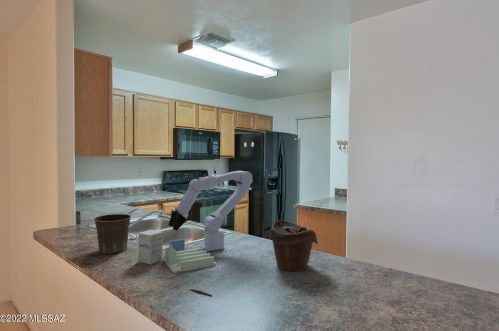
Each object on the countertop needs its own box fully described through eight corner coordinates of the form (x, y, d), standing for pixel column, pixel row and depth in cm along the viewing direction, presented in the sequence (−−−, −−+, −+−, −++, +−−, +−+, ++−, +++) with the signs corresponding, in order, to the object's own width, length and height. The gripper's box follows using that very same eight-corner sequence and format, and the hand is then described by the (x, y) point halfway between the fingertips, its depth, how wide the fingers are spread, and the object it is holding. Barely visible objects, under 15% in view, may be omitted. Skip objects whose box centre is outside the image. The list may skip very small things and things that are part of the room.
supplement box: (137, 262, 124) (137, 232, 124) (151, 257, 130) (151, 229, 130) (150, 265, 120) (150, 235, 120) (163, 259, 127) (163, 231, 127)
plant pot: (121, 256, 131) (121, 221, 130) (86, 255, 131) (86, 220, 130) (136, 245, 147) (136, 214, 146) (105, 245, 147) (105, 213, 147)
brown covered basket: (318, 276, 110) (318, 229, 110) (266, 272, 114) (266, 227, 114) (316, 261, 128) (317, 220, 128) (271, 258, 132) (272, 218, 132)
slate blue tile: (183, 251, 139) (183, 238, 139) (184, 252, 138) (184, 239, 138) (168, 253, 136) (168, 240, 135) (169, 254, 134) (169, 241, 134)
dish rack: (202, 254, 135) (202, 236, 135) (216, 265, 121) (216, 245, 121) (163, 260, 126) (163, 241, 126) (173, 273, 112) (173, 251, 112)
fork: (210, 299, 93) (210, 293, 93) (173, 288, 100) (173, 282, 100) (214, 295, 95) (214, 289, 95) (178, 285, 103) (178, 279, 103)
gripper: (175, 195, 142) (161, 220, 139) (184, 200, 130) (168, 228, 127) (187, 202, 145) (173, 226, 143) (197, 207, 133) (182, 234, 130)
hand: (172, 227), depth 135 cm, fingers open, 7 cm apart
